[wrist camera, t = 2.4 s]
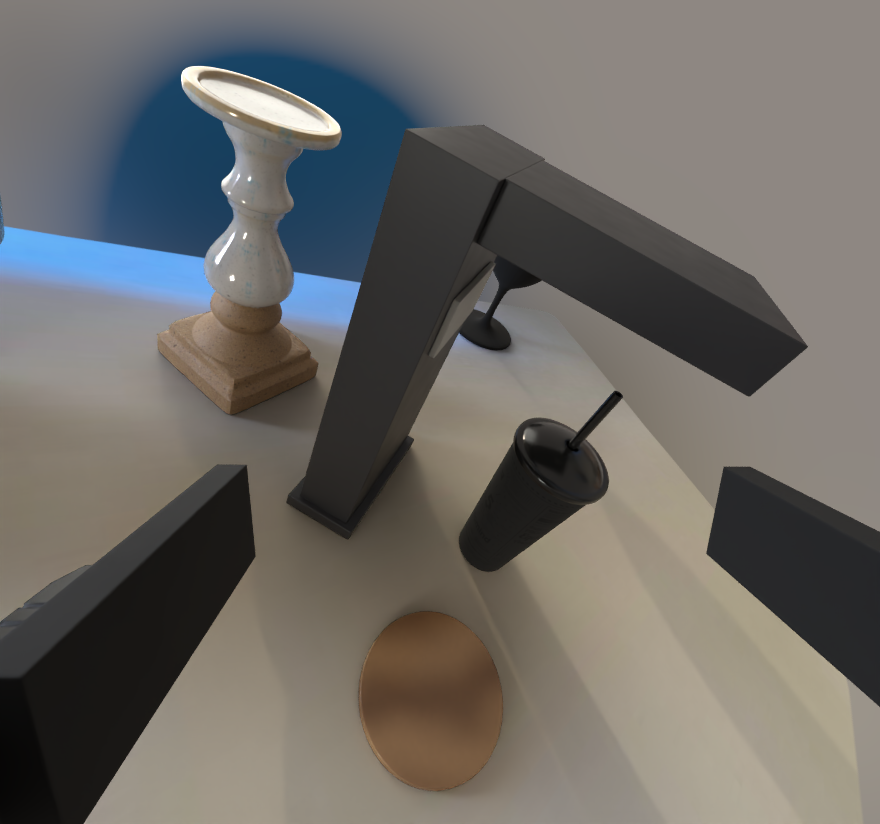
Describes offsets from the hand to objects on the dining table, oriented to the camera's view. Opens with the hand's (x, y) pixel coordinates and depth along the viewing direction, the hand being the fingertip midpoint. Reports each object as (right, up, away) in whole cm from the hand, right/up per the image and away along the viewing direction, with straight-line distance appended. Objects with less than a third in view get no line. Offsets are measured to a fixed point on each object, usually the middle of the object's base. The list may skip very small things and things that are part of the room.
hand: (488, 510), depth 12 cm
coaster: (-2, -17, +18) cm, 25 cm away
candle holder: (-22, +8, +33) cm, 40 cm away
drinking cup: (+3, -10, +28) cm, 30 cm away
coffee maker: (-3, -6, +28) cm, 29 cm away
